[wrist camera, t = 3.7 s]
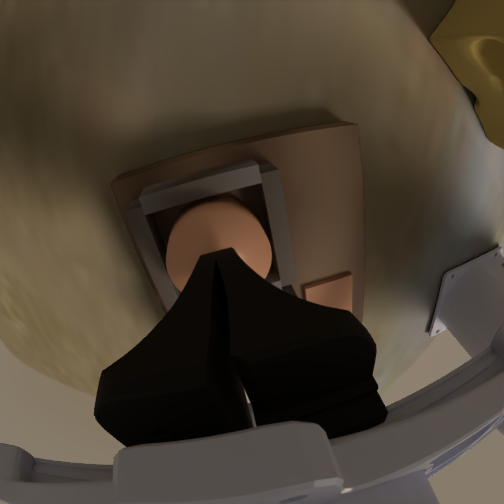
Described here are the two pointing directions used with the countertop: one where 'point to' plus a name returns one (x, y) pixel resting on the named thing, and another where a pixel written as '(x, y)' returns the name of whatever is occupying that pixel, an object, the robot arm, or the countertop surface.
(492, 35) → the cheese
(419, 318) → the countertop surface
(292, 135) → the button panel
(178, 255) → the terracotta button
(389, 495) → the robot arm
